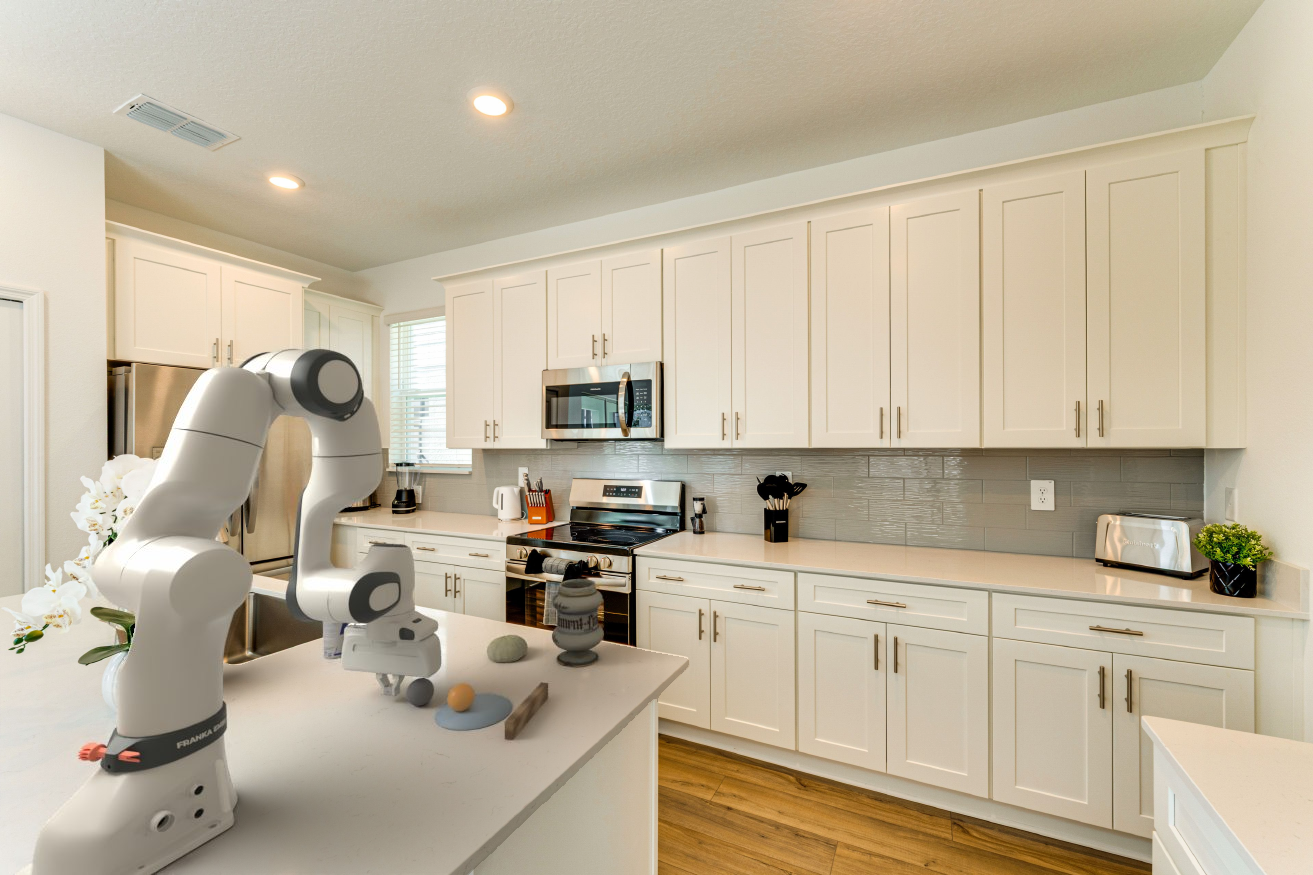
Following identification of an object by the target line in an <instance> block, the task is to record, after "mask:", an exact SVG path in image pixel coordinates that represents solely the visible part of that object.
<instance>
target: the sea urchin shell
mask: <svg viewBox="0 0 1313 875" xmlns="http://www.w3.org/2000/svg"><path fill="white" fill-rule="evenodd" d="M527 651H528V643H527V642H526V640H525V639H524V637H522V636H519V635H515V634H508V635H503V636H499V637H497V638H495V639H493V640H492V641H490V642H489V644H488V646H487V648H486V654H487V657H488V659H489V660H491V661H492V662H495V663H510V662H515V661H518V660H519V659H521V658H523V657H524V656H525V655H526V653H527Z"/></svg>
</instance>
